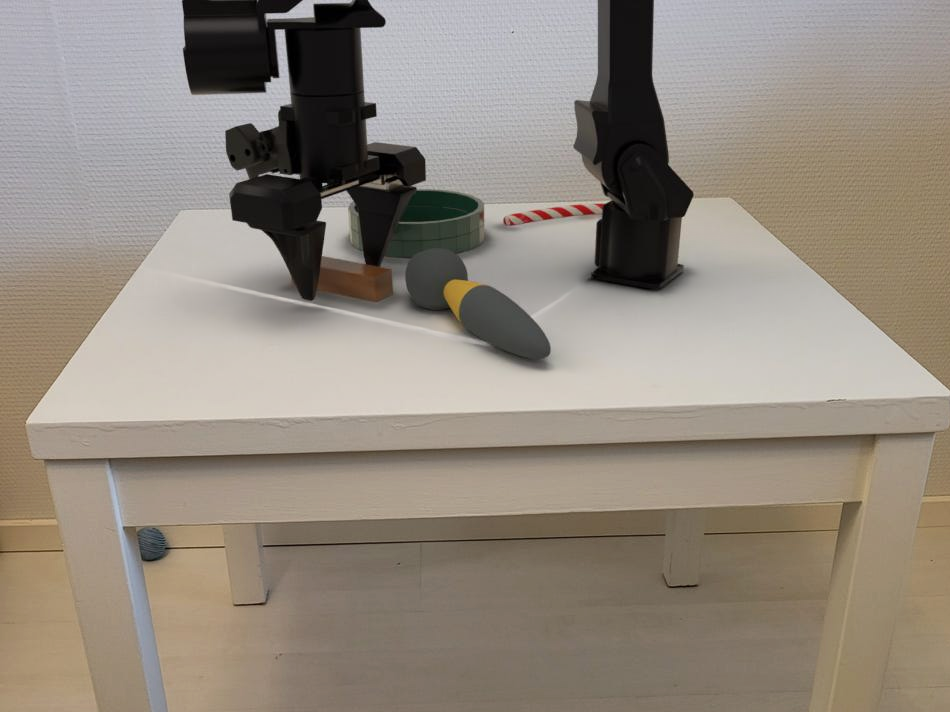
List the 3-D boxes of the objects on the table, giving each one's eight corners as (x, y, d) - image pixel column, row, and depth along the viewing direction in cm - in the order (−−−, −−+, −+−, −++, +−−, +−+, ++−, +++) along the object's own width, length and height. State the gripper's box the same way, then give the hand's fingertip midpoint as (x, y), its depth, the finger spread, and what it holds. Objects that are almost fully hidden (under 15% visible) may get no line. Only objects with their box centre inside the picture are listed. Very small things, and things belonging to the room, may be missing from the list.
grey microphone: (586, 357, 72) (589, 291, 70) (534, 374, 69) (535, 306, 67) (429, 288, 86) (427, 231, 83) (381, 300, 83) (377, 241, 81)
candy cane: (497, 206, 105) (634, 200, 107) (497, 219, 105) (633, 212, 107) (512, 227, 98) (657, 219, 100) (512, 240, 98) (656, 231, 101)
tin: (508, 234, 100) (508, 198, 98) (437, 269, 90) (436, 230, 88) (401, 217, 106) (399, 183, 104) (323, 248, 96) (320, 211, 94)
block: (393, 297, 84) (392, 269, 83) (376, 306, 82) (374, 277, 81) (310, 280, 88) (307, 252, 87) (292, 288, 86) (289, 260, 85)
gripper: (321, 70, 87) (334, 243, 95) (162, 100, 73) (193, 300, 81) (426, 78, 82) (431, 261, 90) (278, 112, 68) (299, 325, 76)
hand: (341, 284), depth 84 cm, fingers open, 8 cm apart
